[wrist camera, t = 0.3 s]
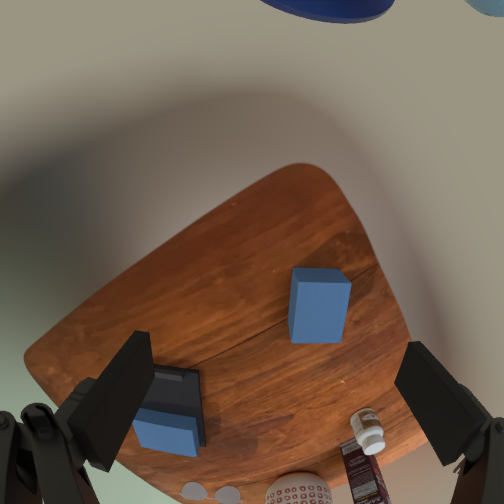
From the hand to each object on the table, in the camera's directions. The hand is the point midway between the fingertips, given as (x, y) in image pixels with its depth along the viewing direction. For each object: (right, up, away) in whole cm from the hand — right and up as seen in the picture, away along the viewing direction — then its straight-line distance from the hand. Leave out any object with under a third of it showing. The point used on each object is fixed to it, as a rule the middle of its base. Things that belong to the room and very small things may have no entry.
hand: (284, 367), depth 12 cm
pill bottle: (+17, -22, +25) cm, 37 cm away
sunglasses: (-10, -49, +33) cm, 60 cm away
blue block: (+6, 0, +20) cm, 21 cm away
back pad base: (-15, -19, +25) cm, 35 cm away
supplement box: (+18, -31, +27) cm, 45 cm away
